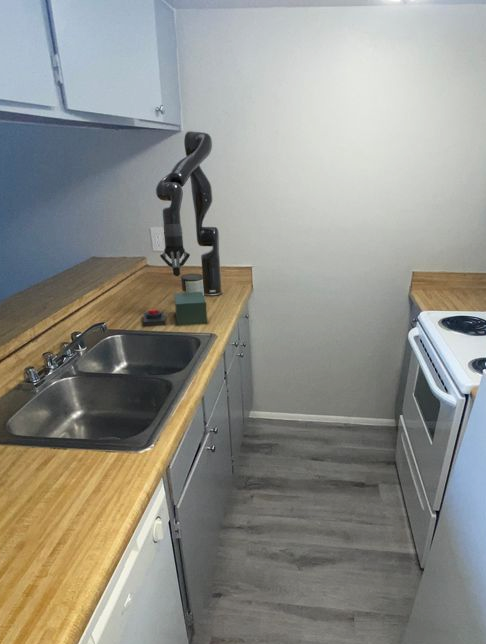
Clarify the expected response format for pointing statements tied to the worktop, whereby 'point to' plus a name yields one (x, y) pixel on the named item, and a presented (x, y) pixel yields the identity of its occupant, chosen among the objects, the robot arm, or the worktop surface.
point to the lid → (189, 298)
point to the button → (153, 311)
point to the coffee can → (192, 283)
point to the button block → (154, 319)
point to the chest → (191, 314)
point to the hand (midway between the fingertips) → (176, 275)
